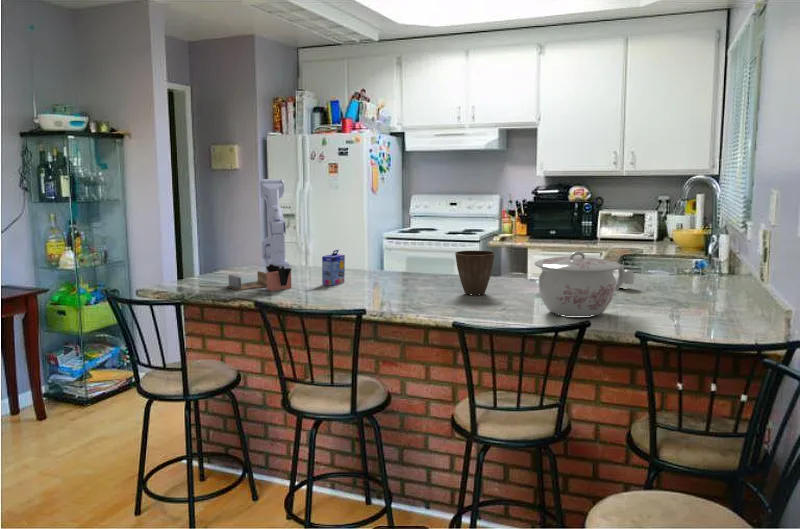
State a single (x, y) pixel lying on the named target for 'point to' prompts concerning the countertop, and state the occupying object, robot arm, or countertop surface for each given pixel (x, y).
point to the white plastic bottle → (628, 276)
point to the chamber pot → (578, 284)
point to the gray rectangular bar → (235, 281)
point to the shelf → (261, 282)
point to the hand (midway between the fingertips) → (279, 284)
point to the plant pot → (474, 270)
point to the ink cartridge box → (333, 269)
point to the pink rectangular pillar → (276, 281)
